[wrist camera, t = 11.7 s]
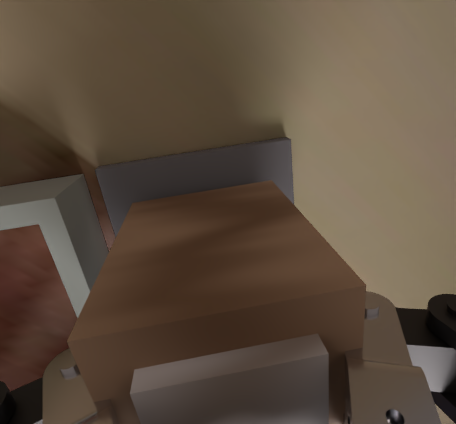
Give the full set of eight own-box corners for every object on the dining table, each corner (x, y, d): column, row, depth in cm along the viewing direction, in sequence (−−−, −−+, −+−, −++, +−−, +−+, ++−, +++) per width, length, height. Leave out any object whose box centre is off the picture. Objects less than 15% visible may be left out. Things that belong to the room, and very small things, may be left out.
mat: (286, 137, 13) (290, 139, 13) (294, 288, 16) (298, 295, 16) (98, 166, 13) (94, 169, 12) (144, 316, 16) (142, 325, 15)
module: (271, 179, 12) (381, 302, 5) (280, 292, 14) (366, 483, 7) (132, 202, 12) (55, 365, 5) (162, 314, 14) (138, 536, 7)
